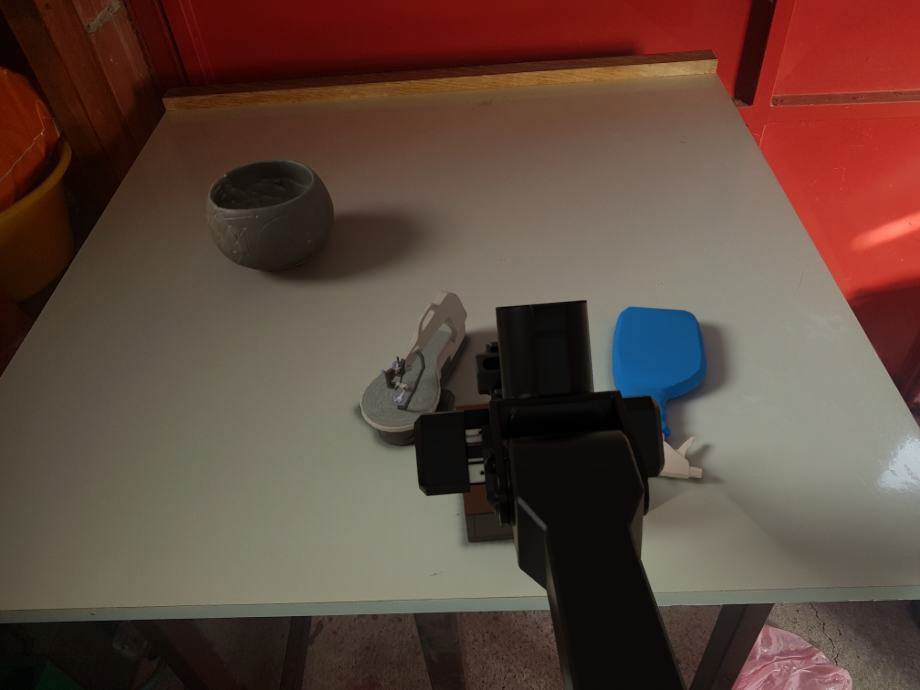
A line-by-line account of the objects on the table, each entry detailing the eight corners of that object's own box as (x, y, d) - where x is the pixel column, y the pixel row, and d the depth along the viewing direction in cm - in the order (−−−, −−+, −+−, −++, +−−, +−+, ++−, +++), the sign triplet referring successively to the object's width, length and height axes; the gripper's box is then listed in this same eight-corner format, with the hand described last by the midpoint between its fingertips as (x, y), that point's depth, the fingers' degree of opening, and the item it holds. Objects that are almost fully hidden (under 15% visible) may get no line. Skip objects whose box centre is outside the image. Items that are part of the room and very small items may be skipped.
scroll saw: (408, 262, 85) (495, 280, 81) (417, 326, 92) (498, 345, 88) (323, 373, 72) (422, 401, 68) (341, 437, 79) (432, 465, 75)
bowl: (211, 246, 109) (183, 174, 101) (318, 210, 115) (301, 139, 106) (241, 308, 98) (213, 232, 89) (359, 264, 103) (343, 190, 94)
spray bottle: (614, 303, 88) (608, 459, 71) (704, 308, 86) (719, 471, 69) (613, 320, 90) (605, 476, 73) (700, 326, 88) (713, 488, 71)
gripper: (677, 326, 46) (624, 333, 62) (398, 350, 46) (416, 351, 62) (692, 493, 46) (635, 458, 62) (412, 516, 46) (426, 475, 62)
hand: (528, 432), depth 62 cm, fingers closed on lid, 5 cm apart
